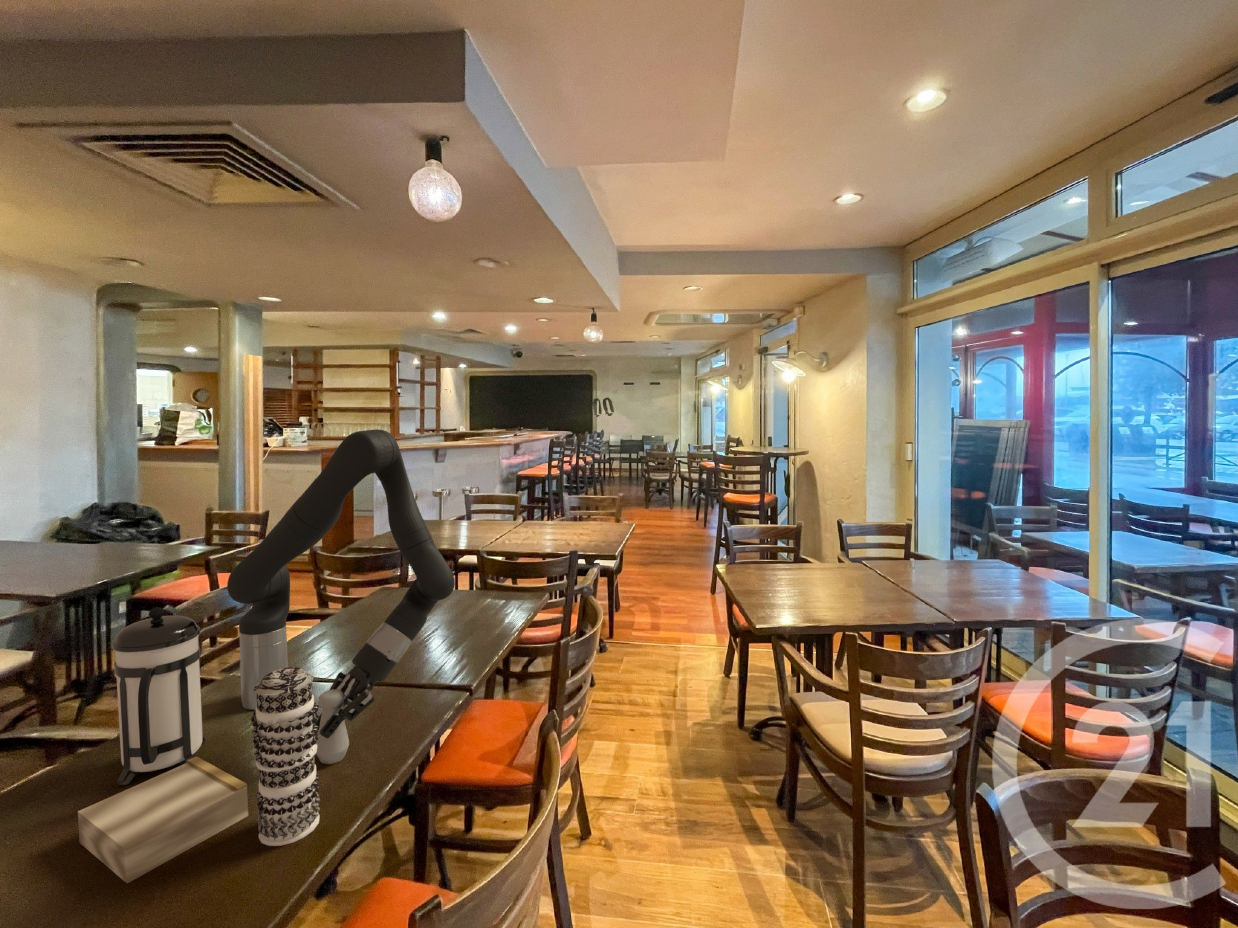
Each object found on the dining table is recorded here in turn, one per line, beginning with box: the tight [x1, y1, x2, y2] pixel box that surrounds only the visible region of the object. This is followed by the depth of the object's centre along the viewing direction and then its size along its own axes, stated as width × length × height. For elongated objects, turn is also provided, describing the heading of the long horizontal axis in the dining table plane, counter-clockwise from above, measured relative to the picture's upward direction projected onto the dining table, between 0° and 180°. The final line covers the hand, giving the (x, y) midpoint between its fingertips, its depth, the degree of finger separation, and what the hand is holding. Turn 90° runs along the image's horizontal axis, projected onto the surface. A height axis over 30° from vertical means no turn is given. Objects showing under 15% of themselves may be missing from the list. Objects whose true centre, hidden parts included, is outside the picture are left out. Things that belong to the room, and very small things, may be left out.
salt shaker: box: [315, 689, 350, 765], centre depth 109 cm, size 6×6×13 cm
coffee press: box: [111, 606, 206, 787], centre depth 106 cm, size 17×16×30 cm
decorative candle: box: [250, 666, 321, 847], centre depth 90 cm, size 9×9×25 cm
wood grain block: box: [77, 756, 249, 884], centre depth 90 cm, size 16×16×5 cm
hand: (320, 731), depth 108 cm, fingers closed on salt shaker, 3 cm apart
